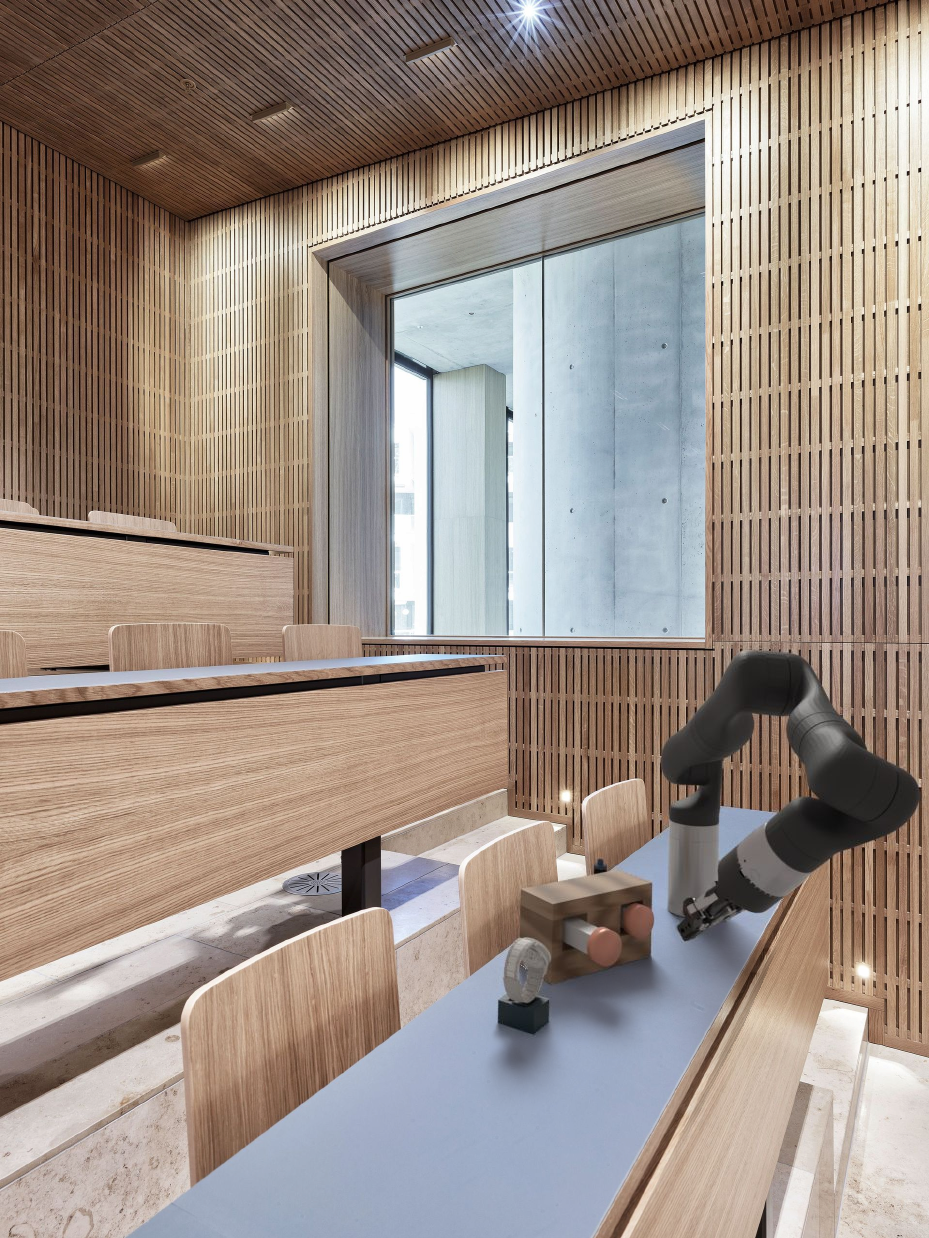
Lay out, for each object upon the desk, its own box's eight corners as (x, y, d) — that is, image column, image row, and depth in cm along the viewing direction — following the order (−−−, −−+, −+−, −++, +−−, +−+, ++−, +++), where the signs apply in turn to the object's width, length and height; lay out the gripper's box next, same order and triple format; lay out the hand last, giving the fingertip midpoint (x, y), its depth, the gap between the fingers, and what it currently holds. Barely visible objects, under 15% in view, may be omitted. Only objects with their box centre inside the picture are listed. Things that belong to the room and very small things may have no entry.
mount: (616, 939, 137) (618, 869, 138) (651, 955, 131) (652, 882, 131) (519, 965, 126) (520, 888, 126) (551, 984, 119) (552, 904, 119)
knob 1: (574, 938, 126) (574, 906, 126) (621, 962, 117) (622, 928, 117) (549, 944, 123) (550, 912, 123) (595, 969, 114) (596, 934, 114)
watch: (555, 1016, 110) (557, 935, 110) (527, 1040, 103) (528, 955, 103) (520, 1004, 113) (521, 926, 113) (490, 1028, 106) (491, 945, 106)
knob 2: (608, 915, 136) (608, 885, 136) (653, 935, 128) (654, 904, 128) (586, 920, 134) (586, 890, 134) (631, 941, 125) (631, 909, 125)
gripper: (781, 830, 100) (702, 898, 110) (711, 845, 93) (633, 916, 103) (819, 885, 95) (733, 950, 106) (748, 905, 88) (663, 973, 98)
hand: (683, 933), depth 104 cm, fingers closed
